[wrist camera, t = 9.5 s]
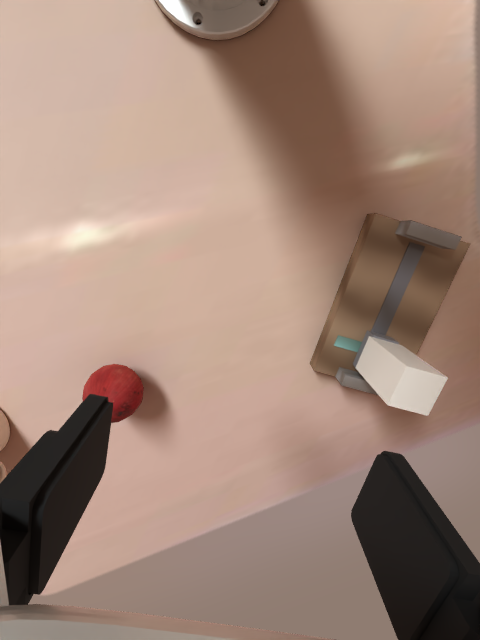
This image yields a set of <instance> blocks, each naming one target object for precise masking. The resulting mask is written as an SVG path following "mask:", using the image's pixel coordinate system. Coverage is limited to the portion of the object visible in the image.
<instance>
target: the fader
mask: <svg viewBox="0 0 480 640" xmlns="http://www.w3.org/2000/svg"><path fill="white" fill-rule="evenodd" d="M353 365H354V366H355V368H356V369H357V370H358V372H359V373H360V374H361V375H362V376H363V377H364V379H365V380H366V381H367V382H368V383H369V384H370V386H371V387H372V388H373V389H374V390H375V391H376V393H377V394H378V395H379V396H380V397H381V398H382V400H383V401H384V402H385V403H386V404H387V405H388V406H392V407H396V408H399V409H403V410H407V411H411V412H415V413H418V414H422V415H426V416H428V415H429V413H430V411H431V409H432V407H433V405H434V403H435V402H436V400H437V398H438V396H439V394H440V392H441V390H442V388H443V386H444V385H445V383H446V381H447V379H448V377H447V376H445V375H444V374H442V373H441V372H439V371H438V370H437V369H435V368H434V367H432V366H431V365H429V364H428V363H427V362H425V361H424V360H422V359H421V358H419V357H418V356H417V355H415V354H414V353H412V352H411V351H409V350H408V349H407V348H405V347H404V346H402V345H399V342H398V341H396V340H395V339H393V338H392V337H389V336H385V335H382V334H378V333H375V332H371V331H368V330H367V332H366V334H365V336H364V339H363V341H362V343H361V346H360V348H359V350H358V353H357V355H356V357H355V360H354V362H353Z"/></svg>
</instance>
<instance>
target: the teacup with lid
mask: <svg viewBox="0 0 480 640" xmlns="http://www.w3.org/2000/svg"><path fill="white" fill-rule="evenodd" d="M9 437H10V426H9V423H8V420H7V418H6V416H5V415H4V413H3V412H2V411H1V410H0V451H1V450H2V449H3V448H4V447H5V446H6V444H7V442H8V440H9ZM6 476H7V472H6V468H5V466H4V464H3V463H2V462H1V461H0V483H1V482H2V481H3V480H4V479H5V477H6Z"/></svg>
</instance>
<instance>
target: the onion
mask: <svg viewBox="0 0 480 640" xmlns="http://www.w3.org/2000/svg"><path fill="white" fill-rule="evenodd" d="M143 390H144V387H143V385H142V382H141V379H140V378H139V377H138V375H137V374H136V373H135V372H134V371H133V370H132V369H130V368H128V367H127V366H123V365H118V364H113V365H106V366H103V367H102V368H100V369H98V370H97V371H95V372H94V373H93V374H91V376H90V378H89V379H88V381H87V382H86V384H85V386H84V390H83V398H82V399H83V401H84V400H85V399H86V397H87V396H88V395H89V394H95V395H100V396H105V397H108V399H109V401H108V402H112V403H113V412H112V419H111V423H113V422H119V421H121V420H123V419H125V418H127V417H129V416H130V415H132V414H133V413H134V412H135V410H136V409H137V408H138V406H139V405H140V404H141V402H142V398H143Z"/></svg>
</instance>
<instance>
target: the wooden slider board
mask: <svg viewBox="0 0 480 640" xmlns="http://www.w3.org/2000/svg"><path fill="white" fill-rule="evenodd" d="M461 238H462V237H461V236H458V235H455V234H452V233H448V232H445V231H442V230H439V229H436V228H433V227H430V226H427V225H424V224H421V223H418V222H415V221H398V220H395V219H392V218H389V217H386V216H383V215H380V214H377V213H374V214H367V217H366V220H365V222H364V225H363V227H362V230H361V232H360V235H359V238H358V240H357V243H356V245H355V248H354V251H353V253H352V256H351V258H350V261H349V263H348V266H347V269H346V271H345V274H344V276H343V279H342V282H341V284H340V287H339V289H338V292H337V294H336V297H335V300H334V302H333V305H332V307H331V310H330V313H329V315H328V318H327V320H326V323H325V325H324V328H323V331H322V333H321V336H320V338H319V341H318V344H317V346H316V349H315V351H314V354H313V356H312V359H311V362H310V364H311V366H312V368H313V370H314V371H316V372H320V373H324V374H327V375H331V376H335V377H336V378H337V380H338V381H339V383H340V384H341V385H342V386H345V387H349V388H353V389H357V390H360V391H364V392H368V393H372V394H375V395H378V394H377V393H376V391H375V390H374V389H373V388H372V387H371V386H370V384H369V383H368V382H367V381H366V380H365V379H364V377H363V376H362V375H361V374H360V373H359V372H358V370H357V369H356V368H355V366H354V365H353V362H354V360H355V357H356V355H357V353H358V350H359V348H360V346H361V343H362V341H363V339H364V336H365V334H366V332H367V330H368V331H371V332H375V333H378V334H382V335H385V336H389V337H392V338H393V339H395V340H396V341H398V342H399V345H402V346H404V347H405V348H407V349H408V350H409V351H411V352H412V353H414V354H415V355H416V354H417V352H418V350H419V348H420V346H421V344H422V342H423V340H424V338H425V336H426V334H427V332H428V330H429V328H430V326H431V324H432V322H433V320H434V317H435V315H436V313H437V311H438V309H439V307H440V305H441V303H442V301H443V299H444V297H445V295H446V293H447V291H448V289H449V287H450V285H451V283H452V281H453V278H454V276H455V274H456V272H457V270H458V268H459V266H460V264H461V262H462V260H463V258H464V256H465V254H466V252H467V250H468V248H469V246H470V244H469V243H466V242H463V241H460V240H461Z"/></svg>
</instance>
